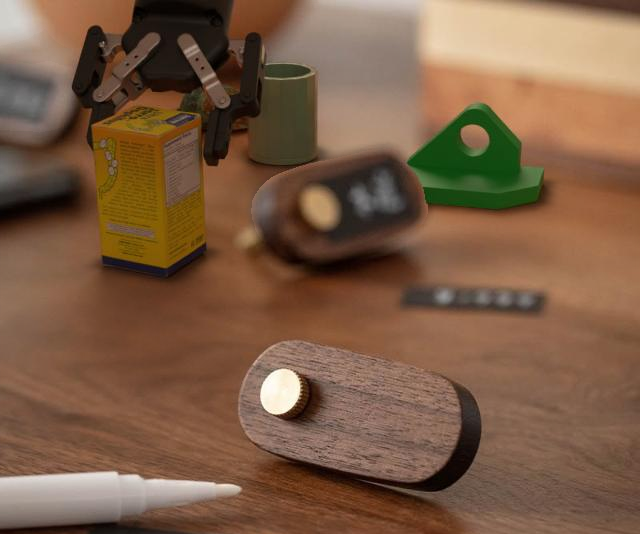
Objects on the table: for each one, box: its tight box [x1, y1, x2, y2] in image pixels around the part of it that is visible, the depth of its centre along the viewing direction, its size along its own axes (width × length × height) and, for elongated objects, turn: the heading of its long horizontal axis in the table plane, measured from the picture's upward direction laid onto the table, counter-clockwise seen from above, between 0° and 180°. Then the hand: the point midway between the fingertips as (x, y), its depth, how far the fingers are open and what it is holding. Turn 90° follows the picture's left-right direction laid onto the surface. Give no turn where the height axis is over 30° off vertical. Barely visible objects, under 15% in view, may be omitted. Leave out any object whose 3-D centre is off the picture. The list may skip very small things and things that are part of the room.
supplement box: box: [91, 104, 208, 278], centre depth 97 cm, size 6×6×11 cm
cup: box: [246, 61, 319, 166], centre depth 121 cm, size 6×6×8 cm
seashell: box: [175, 83, 247, 131], centre depth 132 cm, size 10×4×10 cm
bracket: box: [406, 101, 545, 210], centre depth 112 cm, size 12×8×7 cm, turn 75°
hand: (154, 158), depth 97 cm, fingers open, 8 cm apart
